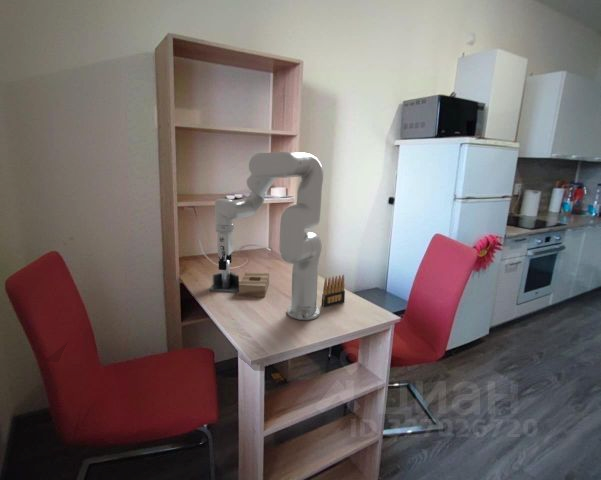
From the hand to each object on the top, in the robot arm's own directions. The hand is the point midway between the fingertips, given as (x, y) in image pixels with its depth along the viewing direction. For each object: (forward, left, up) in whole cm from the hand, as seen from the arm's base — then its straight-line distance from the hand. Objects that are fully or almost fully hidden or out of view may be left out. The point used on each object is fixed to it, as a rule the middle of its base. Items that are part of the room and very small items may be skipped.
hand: (225, 266), depth 155 cm
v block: (+1, 0, -10) cm, 10 cm away
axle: (0, 0, -9) cm, 9 cm away
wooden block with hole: (0, -13, -10) cm, 17 cm away
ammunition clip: (-12, -47, -11) cm, 50 cm away
